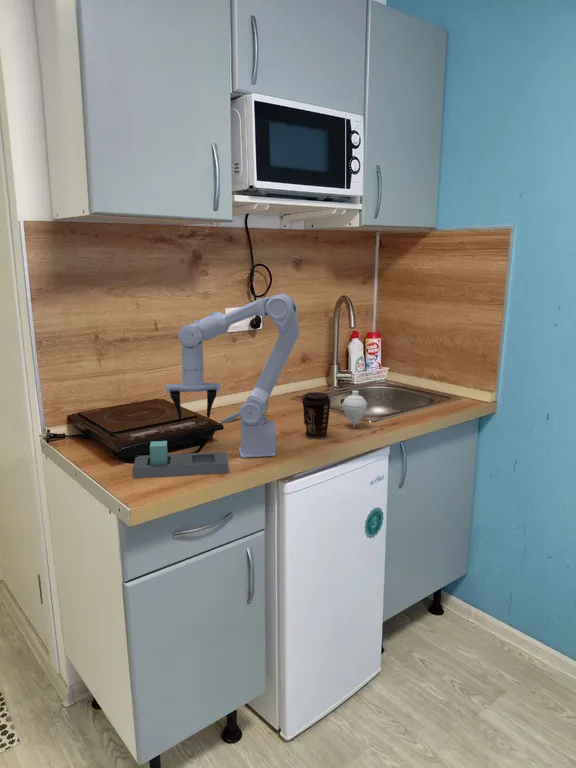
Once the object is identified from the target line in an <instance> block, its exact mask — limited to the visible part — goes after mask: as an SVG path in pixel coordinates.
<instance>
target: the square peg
mask: <svg viewBox="0 0 576 768" xmlns="http://www.w3.org/2000/svg"><path fill="white" fill-rule="evenodd" d="M168 454H169V453H168V440H160V441H159V440H158V441H155V440H154V441H153V440H152V441H150V445H149V455H150V463H151V465H162V464H168Z"/></svg>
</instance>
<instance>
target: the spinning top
mask: <svg viewBox="0 0 576 768" xmlns="http://www.w3.org/2000/svg"><path fill="white" fill-rule="evenodd" d="M351 392H352V394H351V395H348V396H347V397H346V398H345V399H344V400H343V402H342V409H343V412H344V414H345V416H346V417H347V419H348V421H349V422H350V423H351V424H352V425H353V428H354V427H356V425H357V424H358V423H359V422H360V421H361V419H362V418H363V416H364V415H365V414H366V412H367V409H368V402H367V401H366V399H365V398H364V397H363V396H362V395H359V390H352V391H351Z"/></svg>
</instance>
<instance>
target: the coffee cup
mask: <svg viewBox="0 0 576 768" xmlns="http://www.w3.org/2000/svg"><path fill="white" fill-rule="evenodd" d="M301 402H302V406H303V424H304V425H305V434H304V435H305V438H306V439H308V438H309V440H312V439H319V440H323V439H325V438H326V437H327V435H328V433H327V432H328V426H329V418H330V406H331V399H330V397H329V395H328V393H326V392H316V391H315V392H313V391H312V392H307V393H305V394H303V397H302V400H301ZM322 438H323V439H322Z"/></svg>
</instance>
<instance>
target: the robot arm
mask: <svg viewBox="0 0 576 768" xmlns="http://www.w3.org/2000/svg"><path fill="white" fill-rule="evenodd" d="M208 315H209V316H206V317H204V318H202V319H197V318H196V319H195V320H193V321H192V322H193V323H191V324H185V325H184V326H183V327H182V328H180V329H179V330H178V334H177V335H178V337H177V339H178V341H179V343H180V345H181V373H182V374H181V375H182V377H181V378H182V379H181V380H182V383H172V384H171V383H170V384H165V392H166V394H170V395H169V396H170V399H171V400H172V402H173V404H174V406H175V409H176V412H177V416H178V419H180V420H181V419H182V408H181V393H187V392H188V393H193V392H194V393H195V392H197V393H198V392H206V398H207V401H206V403H207V404H206V405H207V406H206V418H210V417H211V411H212V408H213V404H214V401H215V399H216V397H217V392H221V383H220V382H205V381H204V380H205V377H204V373H205V372H204V351H203V350H204V349H203V347H204V346H203V345H204V344H203V342H204V341H206V342H207V341H209V340H211V339H213V338H216V337H219V336H220V335H224V334H226V333H227V332H228V331H229V329H230V326H231V325H234V324H238V323H239V322H241V321H244V320H247V319H249V318H252V317H254V316H258V317H263V318H265V317H267V316H268V318H270V320H271V321H272V322H273V323H274V324H275V326H276V328H277V331H278V333H279V335H278V338H277V339H276V342H275V344H274V346H273V348H272V351H271V353H270V354H269V357H268V359H267V360H266V363H265V365H264V367H263V369H262V372H261V373H260V376H259V377H258V380H257V382H256V384H255V386H254V388H253V390H252V392H251V393H250V395H249V396H248V397H247V399H246V401H245V402H244V403H242V404H241V405H240V407H239V411H238V412H239V415H240V417H239V418H240V446H238V451H239V455H240V458H261V457H275V456H277V453H276V452H277V451H276V450H277V449H276V447H277V446H276V444H277V443H276V437H277V436H276V435H277V434H276V424H275V421H274V420H268V418H267V416H266V414H265V413H266V412H268V411H267V410H268V408H269V399H270V396H271V395H272V392H273V390H274V387H275V385H276V383H277V381H278V380H279V378H280V375H281V373H282V371H283V369H284V367H285V366H286V363H287V361H288V359H289V357H290V354H291V353H292V351H293V349H294V347H295V344H296V343H297V341H298V338H299V336H300V331H301V330H300V325H299V316H298V315H299V314H298V307H297V304H296V302H295V300H294V299H293V298H292V296H291V295H289V294H288V293H285V292H284V293H278V294H275V295H272V296H268V297H264V298H260V299H257V300H254V301H252V302H250V303H247V304H245V305H243V306H241V307H239V308H236V309H234V310H232V311H231V312H228V313H223V312H220V311H217V312H215V311H212V312H209V313H208Z"/></svg>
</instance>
